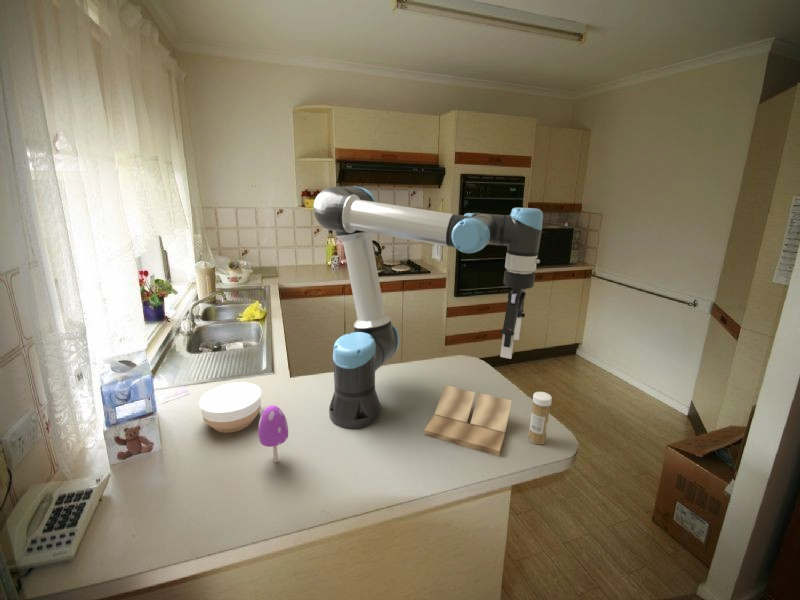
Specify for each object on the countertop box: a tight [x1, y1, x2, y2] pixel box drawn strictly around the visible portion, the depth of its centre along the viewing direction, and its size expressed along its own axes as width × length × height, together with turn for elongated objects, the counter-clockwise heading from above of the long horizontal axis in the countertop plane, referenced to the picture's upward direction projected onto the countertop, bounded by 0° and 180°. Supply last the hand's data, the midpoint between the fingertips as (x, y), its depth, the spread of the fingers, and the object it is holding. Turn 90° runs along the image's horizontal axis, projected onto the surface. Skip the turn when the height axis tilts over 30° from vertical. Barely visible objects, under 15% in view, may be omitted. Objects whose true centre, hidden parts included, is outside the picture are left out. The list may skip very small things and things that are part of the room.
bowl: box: [198, 381, 262, 434], centre depth 109 cm, size 16×16×8 cm
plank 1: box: [434, 384, 476, 424], centre depth 114 cm, size 10×10×1 cm
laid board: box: [423, 414, 506, 457], centre depth 105 cm, size 20×10×2 cm, turn 66°
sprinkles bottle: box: [527, 391, 553, 446], centre depth 102 cm, size 5×5×13 cm
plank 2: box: [469, 392, 513, 434], centre depth 110 cm, size 10×10×1 cm
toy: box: [257, 404, 289, 464], centre depth 92 cm, size 7×7×15 cm
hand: (510, 347), depth 105 cm, fingers open, 13 cm apart
